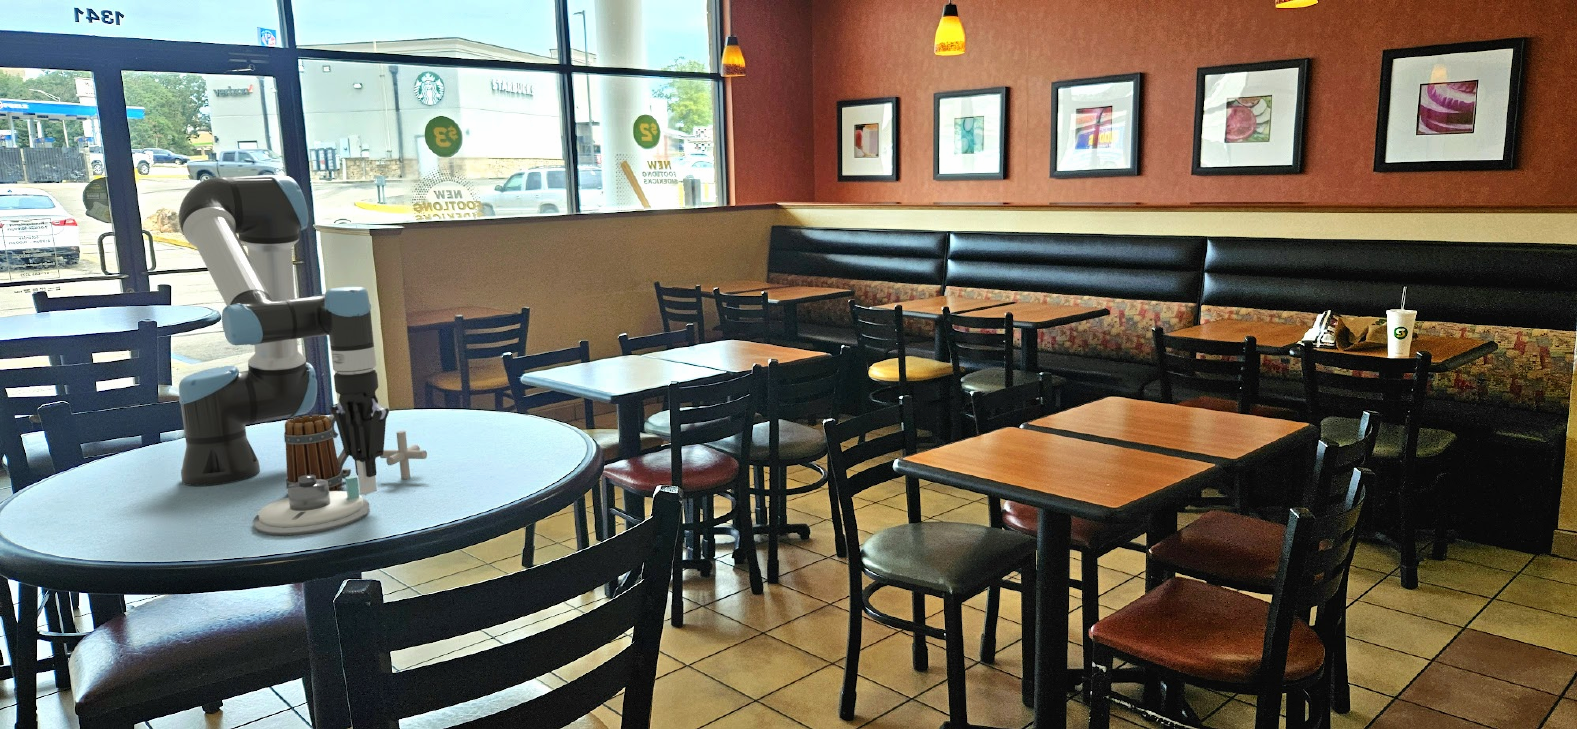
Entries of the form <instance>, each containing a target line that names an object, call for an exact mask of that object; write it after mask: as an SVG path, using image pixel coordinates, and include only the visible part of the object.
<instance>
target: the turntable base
mask: <svg viewBox="0 0 1577 729" xmlns="http://www.w3.org/2000/svg"><path fill="white" fill-rule="evenodd" d="M370 510H371V509H370V502H369V501H368V500H367V499H364V498H363V507H362V508H361V509H360V510H359V511H357V512H356V513H354V514H352V515H349V516H347V517H344V518H341V519H337V520H334V521H330V522H326V523H321V524H315V525H308V526H299V527H273V526H267V525H264V524H262V523H261V522H260V521H259V515H258V514H257V515H256V516H255V517H253V520H252V524H253V529H254V531H255V532H256V533H259V534H260V535H261V534H262V535H267V536H272V537H273V536H274V537H275V536H277V537H287V536H288V537H292V536H293V537H294V536H304V535H312V534H318V533H324V532H329V531H333V530H337V529H340V528H344V527H347V526H349V525H351V524H354V523H356V522H359V521H362V520H363V519H364V518H366V517H367V516H368V515H369V514H370V512H371V511H370Z"/></svg>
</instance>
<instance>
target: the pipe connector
mask: <svg viewBox="0 0 1577 729" xmlns="http://www.w3.org/2000/svg"><path fill="white" fill-rule="evenodd" d="M406 432H407V431H406V430H398V431H396V432H395V433H396V442H397V449H384V452H383V455H382V456H379V458H380V459H386V464H387V465H388V466H393V465H396V464H398V463H399V468H400V477H401V478H400V479H403V480H406V479H410V478H411V470H410V462H409V461H410V459H412V460H426V459H427V457H428V453H427V451H426V450H421V449H420V446H419V445H418V444H413V445H411V446H409V447H408V442H407V433H406Z"/></svg>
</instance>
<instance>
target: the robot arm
mask: <svg viewBox="0 0 1577 729" xmlns="http://www.w3.org/2000/svg"><path fill="white" fill-rule="evenodd" d="M178 210H179V211H178V222H179V223H178V224H179V227H180V230H181V232H182V234H183V236H184V238H185V239H186V241H187V242H188V243H189V244H191V245H192V246H194V247H196V249H197V251H198V253H199V255H200V257H201V259H202V261H203V263H204V264H205V266H206V268H207V271H208V272H209V274H210V276H211V278H212V280H213V282H214V285H216V287H217V289H218V292H219V294H220V296H221V297H222V299H223V302H224V304H225V305H226V306H224V308H223V310H222V312H221V324H222V325H221V326H222V330H223V331H224V336H225V338H226V341H227V342H228V343H229V344H230V345H233V346H244V345H245V346H247V345H250V346H254V354H253V355H252V356H251V357H250V358H249V359H248V361H247V367H248V370H243V371H242V370H241V371H240V370H239V369H238V367H237V366H235V365H225V366H221V367H219V366H217V367H212V368H207V369H203V370H200V371H197V372H194V373H191V374H189V375H187V376H185V377H183V378H182V379H181V380H180V382H179V384H178V394H179V395H178V396H179V398H178V403H179V404H180V410H181V417H182V423H183V431H184V438H185V444H186V446H185V452H184V457H183V461H182V462H183V463H182V467H181V470H180V477H181V482H182V484H183V485H186V486H196V487H197V486H199V487H201V486H203V487H204V486H213V485H214V486H215V485H223V484H228V483H234V482H238V481H242V480H245V479H249V478H251V477H254V476H255V475H257V474H259V473H260V471H261V468H260V461H259V459H258V457H257V455H256V453H255V451H254V449H253V447H252V445H251V443H250V442H249V440H248V436H247V430H246V425H250V424H258V423H263V422H268V421H275V420H280V419H293V418H295V417H296V416H297V417H298V416H301V415H302V416H303V415H305V414H308V413H309V412H310V411H311V410H312V408H314V406H315V404H316V400H317V393H318V379H317V377H316V376H317V373H316V371H315V368H314V366H313V365H312V364H311V363H310V362H307V361H306V360H307V359H306V357H305V355H303V353H300V352H299V350H298V349H299V347H298V340H300V339H307V338H313V337H322V336H324V337H325V336H329V344H330V345H329V346H330V353H331V362H332V369H333V371H334V372H335V373H334V374H333V382H334V390H335V392H336V394H339V397H338V403H337V404H336V405H332V406H330V408H329V409H330V413H331V414H333V416H334V417H335V420H336V421H335V424H336V426H337V430H338V435H339V437H340V440H341V444H342V447H343V449H344V451H345V454H346V455H347V456H348V457H351V459H353V460H354V465H355V473H356V477H357V480H358V489H359V494H360V495H365V496H366V495H369V494H372V493H375V492H377V491H378V489H377V488H378V487H377V481H376V476H377V473H378V472H377V463H376V460H377V458H380V456H382V455H383V452H384V450H385V439H386V435H385V434H386V424H387V417H388V416H389V413H390V410H389V407H382V406H381V405H380V404H379V399H378V398H377V395H376V391H377V390H378V389H379V380H378V372H377V370H376V369H375V368H376V367H377V359H376V350H375V345H374V344H375V343H374V334H373V333H374V332H373V323H372V313H371V309H372V304H371V303H370V299H369V298H370V297H369V293H368V290H367V289H366V288H365V287H364V286H343V287H334V288H329V289H327V290H326V291H325V293H323V294H322V293H321V294H320V293H319V294H316V295H313V296H309V297H299V298H295V297H296V296H295V280H294V279H295V277H294V264H293V263H294V262H293V261H294V260H293V247H294V245H296V244H297V243H298V242H299V240H300V231H303V230H306V229H307V228H308V225H309V211H308V206H307V202H306V199H305V196H304V193H303V191H302V188H301V187H300V185H299V184H298V182H297V181H296V180H295V179H294V178H293V177H290V176H289V175H288V176H287V175H276V174H275V175H274V174H273V175H272V174H261V175H243V176H242V175H241V176H239V175H238V176H216V177H215V176H214V177H211V178H210V177H209V178H207V179H205V180H202V181H201V182H199V183H197V184H196V185H194V186H193V187H192V188H191V189H190V190H189V191H188V192H187V193H186V195H185V196H184V198H183V199H182V202H181V204H180V207H179V209H178ZM244 246H245V247H246V248H247V251H246V248H245V247H244ZM350 448H351V449H350Z"/></svg>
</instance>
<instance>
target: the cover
mask: <svg viewBox="0 0 1577 729" xmlns="http://www.w3.org/2000/svg"><path fill="white" fill-rule="evenodd" d="M286 490H287V496H288V497H287V498H289V505H290V509H291V510H294V511H307V510H314V509H318V508H322V507H325V506H327V505H329V504H330V494H329V486H328V481H327V480H323V479H316V475H304V476H300V477H298V482H296V483H293V484H291V485H289V486H288V487H287V486H286Z"/></svg>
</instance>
